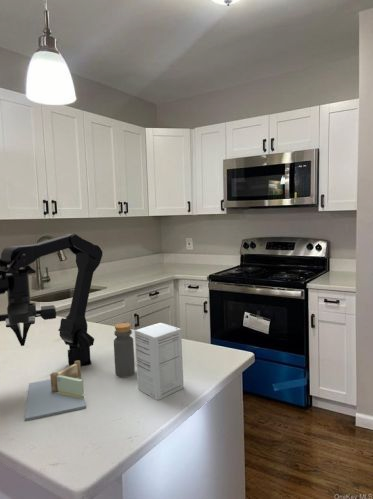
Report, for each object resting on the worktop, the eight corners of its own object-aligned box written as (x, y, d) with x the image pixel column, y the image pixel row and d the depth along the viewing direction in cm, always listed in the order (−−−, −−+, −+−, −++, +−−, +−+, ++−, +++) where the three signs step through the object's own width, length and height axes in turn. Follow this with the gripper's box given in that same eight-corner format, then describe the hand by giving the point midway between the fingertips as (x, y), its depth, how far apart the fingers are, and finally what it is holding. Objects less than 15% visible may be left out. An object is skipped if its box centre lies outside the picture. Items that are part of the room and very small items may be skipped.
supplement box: (163, 377, 106) (161, 321, 104) (184, 388, 99) (182, 328, 97) (136, 389, 99) (133, 329, 98) (157, 401, 92) (154, 337, 91)
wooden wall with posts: (82, 377, 108) (81, 360, 107) (55, 394, 98) (54, 376, 97) (77, 376, 108) (75, 359, 108) (49, 393, 98) (48, 375, 98)
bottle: (117, 379, 106) (115, 329, 104) (113, 371, 111) (110, 324, 110) (137, 375, 108) (134, 326, 107) (132, 367, 113) (129, 321, 112)
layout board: (80, 375, 109) (80, 373, 109) (87, 407, 90) (87, 405, 90) (29, 385, 104) (29, 382, 104) (24, 421, 85) (24, 418, 85)
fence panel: (57, 390, 98) (56, 376, 97) (60, 388, 99) (59, 374, 98) (81, 396, 94) (80, 381, 94) (84, 394, 95) (83, 379, 95)
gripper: (-25, 301, 90) (-20, 361, 91) (54, 292, 97) (58, 349, 98) (-18, 292, 100) (-13, 347, 102) (53, 285, 107) (57, 337, 108)
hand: (22, 345), depth 102 cm, fingers closed
